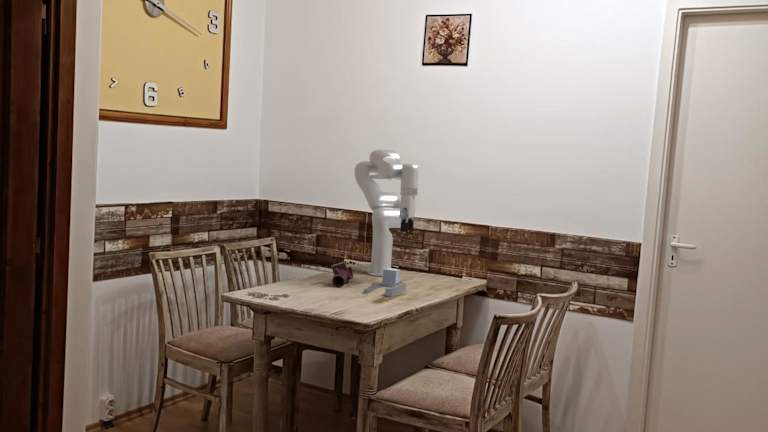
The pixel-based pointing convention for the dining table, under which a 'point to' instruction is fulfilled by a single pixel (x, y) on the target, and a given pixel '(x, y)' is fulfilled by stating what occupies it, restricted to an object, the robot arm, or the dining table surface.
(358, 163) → the robot arm
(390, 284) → the module
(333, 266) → the brown pipe fitting
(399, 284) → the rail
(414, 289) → the dining table surface
